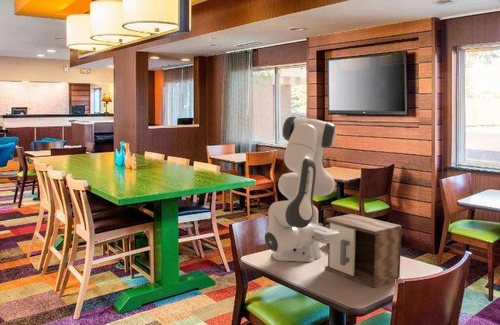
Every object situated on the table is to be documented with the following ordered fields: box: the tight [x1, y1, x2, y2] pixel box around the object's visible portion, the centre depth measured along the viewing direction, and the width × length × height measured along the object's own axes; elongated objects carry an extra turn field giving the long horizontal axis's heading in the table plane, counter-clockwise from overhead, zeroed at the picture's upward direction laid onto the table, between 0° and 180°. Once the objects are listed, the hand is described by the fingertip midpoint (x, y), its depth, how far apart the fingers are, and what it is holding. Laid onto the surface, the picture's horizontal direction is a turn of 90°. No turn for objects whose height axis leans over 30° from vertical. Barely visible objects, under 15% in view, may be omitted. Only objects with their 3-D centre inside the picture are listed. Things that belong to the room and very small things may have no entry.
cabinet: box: [324, 213, 402, 289], centre depth 196 cm, size 16×26×22 cm, turn 36°
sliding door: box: [329, 223, 356, 276], centre depth 194 cm, size 5×13×19 cm, turn 36°
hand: (330, 228), depth 185 cm, fingers open, 8 cm apart
